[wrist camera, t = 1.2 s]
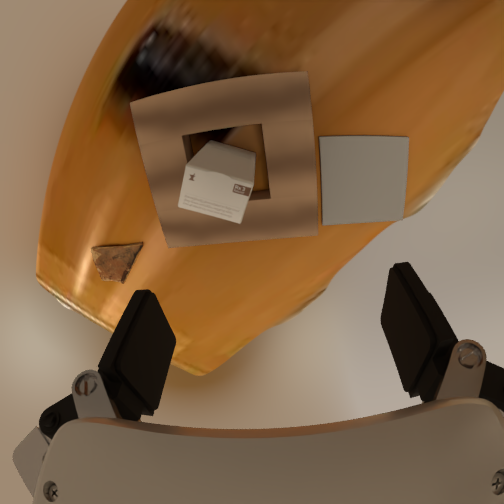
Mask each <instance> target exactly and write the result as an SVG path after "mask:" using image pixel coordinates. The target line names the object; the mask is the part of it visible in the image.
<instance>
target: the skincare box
mask: <svg viewBox="0 0 504 504" xmlns="http://www.w3.org/2000/svg"><path fill="white" fill-rule="evenodd" d="M255 161H256V153H254V152H251V151H248V150H244V149H241V148H238V147H234V146H231V145H227V144H224V143H220V142H216V141H212V140H210V141H209V142H208V143H207V144H206V145H205V146H204V147H203V148H202V149H201V150H200V151H199V152H198V153H197V154H196V155H195V156H194V157H193V158H192V159H191V160H190V161H189V162H188V163H187V164H186V166H185V172H184V177H183V182H182V187H181V192H180V197H179V202H178V207H180V208H183V209H187V210H191V211H195V212H199V213H202V214H206V215H210V216H214V217H217V218H221V219H225V220H228V221H232V222H235V223H239V224H240V223H241V222H242V219H243V216H244V213H245V210H246V207H247V204H248V200H249V198H250V195H251V192H252V189H253V186H254V174H255Z"/></svg>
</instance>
